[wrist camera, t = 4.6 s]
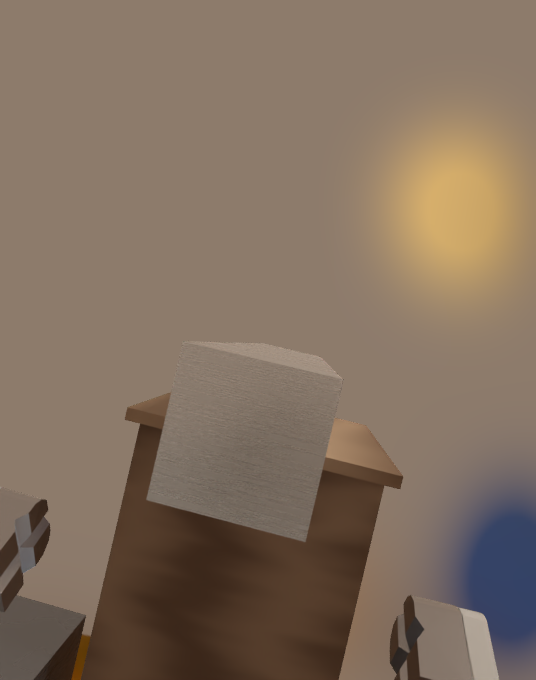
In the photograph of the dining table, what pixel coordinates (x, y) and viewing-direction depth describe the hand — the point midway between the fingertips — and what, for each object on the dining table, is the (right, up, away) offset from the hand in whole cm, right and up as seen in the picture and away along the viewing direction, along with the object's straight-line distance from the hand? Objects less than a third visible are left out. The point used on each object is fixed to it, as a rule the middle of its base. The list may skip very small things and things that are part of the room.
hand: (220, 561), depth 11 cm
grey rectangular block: (+1, +1, +10) cm, 10 cm away
